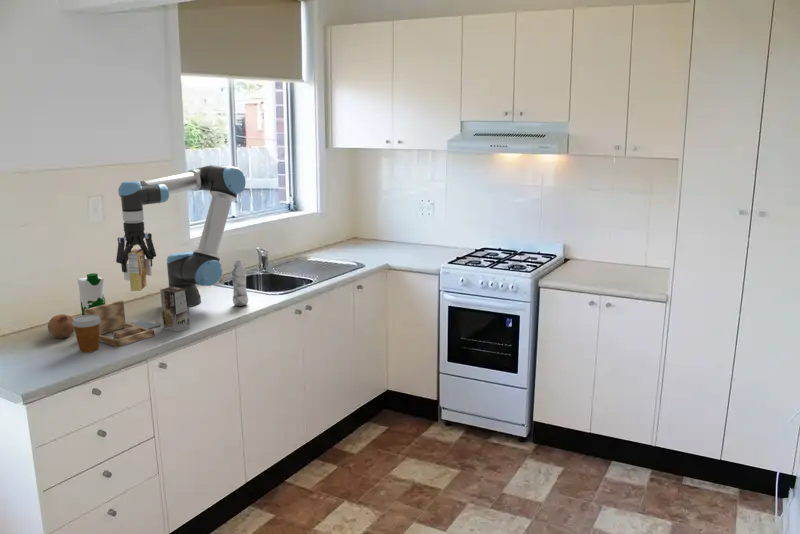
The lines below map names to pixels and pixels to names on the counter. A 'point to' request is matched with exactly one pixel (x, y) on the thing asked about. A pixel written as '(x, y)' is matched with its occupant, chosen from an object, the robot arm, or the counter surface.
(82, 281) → the milk carton
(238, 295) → the plastic bottle
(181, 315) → the coffee box
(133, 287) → the candy box
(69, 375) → the counter surface
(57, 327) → the onion
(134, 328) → the offcut upper
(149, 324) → the mat
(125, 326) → the rack
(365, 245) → the counter surface
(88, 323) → the disposable coffee cup
